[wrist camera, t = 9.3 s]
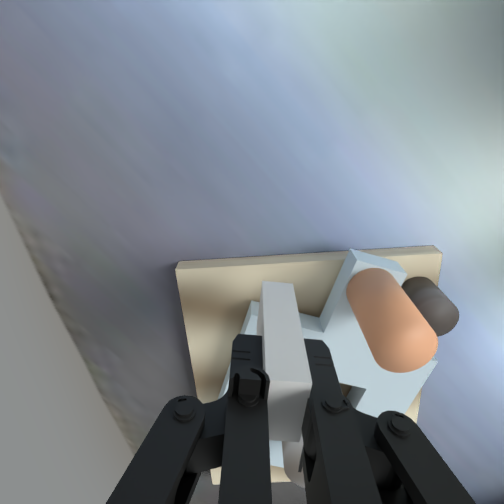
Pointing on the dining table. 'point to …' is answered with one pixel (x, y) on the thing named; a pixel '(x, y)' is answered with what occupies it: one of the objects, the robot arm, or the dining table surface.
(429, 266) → the post base
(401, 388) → the flange plate
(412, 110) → the dining table surface
